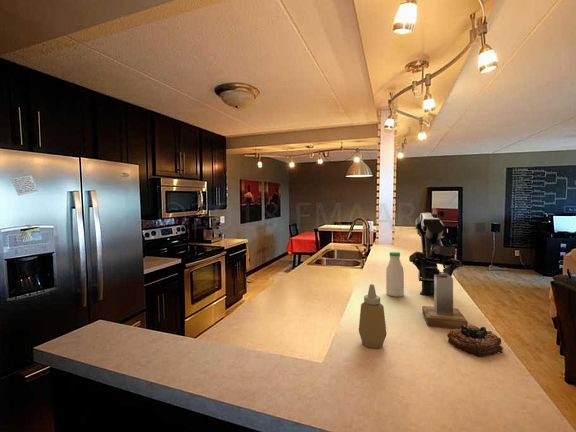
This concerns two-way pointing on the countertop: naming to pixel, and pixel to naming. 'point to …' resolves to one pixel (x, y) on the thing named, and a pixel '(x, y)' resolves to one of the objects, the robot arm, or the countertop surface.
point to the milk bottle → (395, 276)
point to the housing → (443, 293)
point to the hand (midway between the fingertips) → (436, 281)
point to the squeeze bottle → (372, 320)
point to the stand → (443, 318)
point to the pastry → (475, 341)
